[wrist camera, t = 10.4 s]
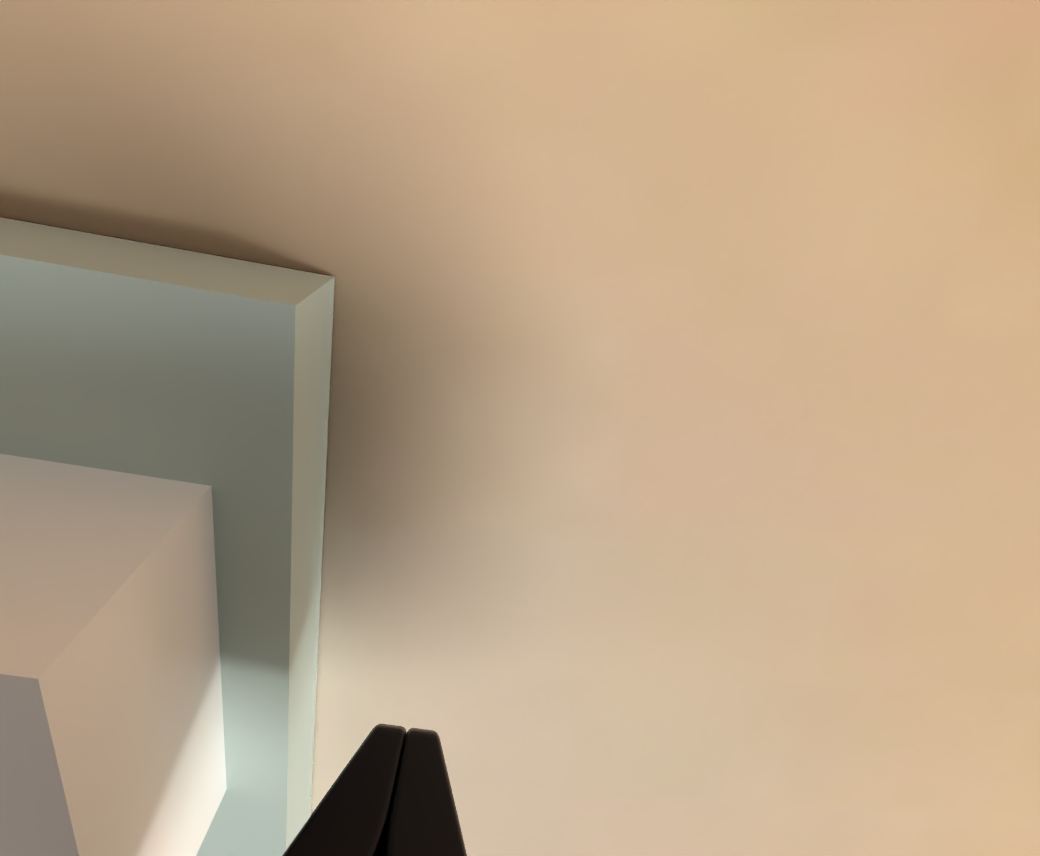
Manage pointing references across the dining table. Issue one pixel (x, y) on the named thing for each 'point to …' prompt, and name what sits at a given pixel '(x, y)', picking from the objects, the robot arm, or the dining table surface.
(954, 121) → the dining table surface
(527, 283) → the dining table surface
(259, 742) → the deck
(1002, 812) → the dining table surface
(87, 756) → the tile
